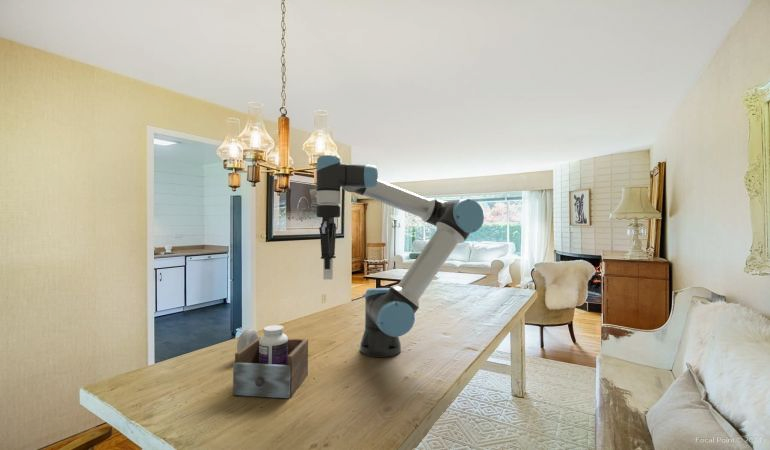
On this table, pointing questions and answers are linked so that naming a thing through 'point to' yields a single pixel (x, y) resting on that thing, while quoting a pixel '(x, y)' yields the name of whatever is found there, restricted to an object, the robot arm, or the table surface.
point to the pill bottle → (273, 346)
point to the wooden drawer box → (295, 359)
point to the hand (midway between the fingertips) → (328, 279)
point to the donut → (246, 338)
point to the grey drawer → (261, 380)
